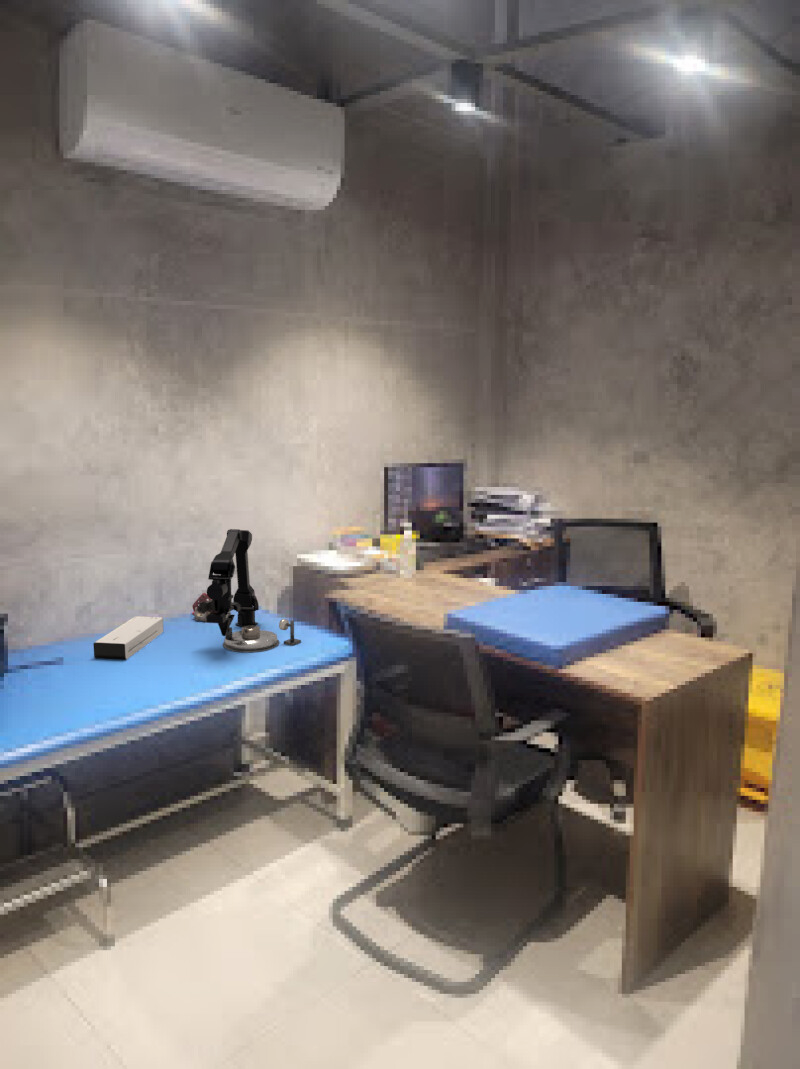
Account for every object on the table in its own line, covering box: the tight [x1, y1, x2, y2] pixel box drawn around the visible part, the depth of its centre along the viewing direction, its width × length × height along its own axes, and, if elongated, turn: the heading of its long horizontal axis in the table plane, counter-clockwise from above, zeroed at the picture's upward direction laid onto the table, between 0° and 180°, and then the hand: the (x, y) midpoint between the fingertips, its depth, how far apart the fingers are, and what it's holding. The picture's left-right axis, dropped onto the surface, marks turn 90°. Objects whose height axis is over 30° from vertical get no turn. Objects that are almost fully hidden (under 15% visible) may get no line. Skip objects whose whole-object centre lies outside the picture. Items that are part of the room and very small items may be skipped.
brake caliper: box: [191, 592, 217, 623], centre depth 332 cm, size 11×11×12 cm
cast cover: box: [241, 625, 261, 640], centre depth 299 cm, size 7×7×4 cm
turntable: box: [224, 626, 278, 651], centre depth 300 cm, size 19×19×6 cm
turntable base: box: [222, 638, 280, 654], centre depth 300 cm, size 20×20×1 cm
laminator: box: [93, 615, 164, 661], centre depth 297 cm, size 34×12×6 cm, turn 174°
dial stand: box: [278, 618, 302, 647], centre depth 301 cm, size 6×5×9 cm
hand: (224, 635), depth 292 cm, fingers closed
